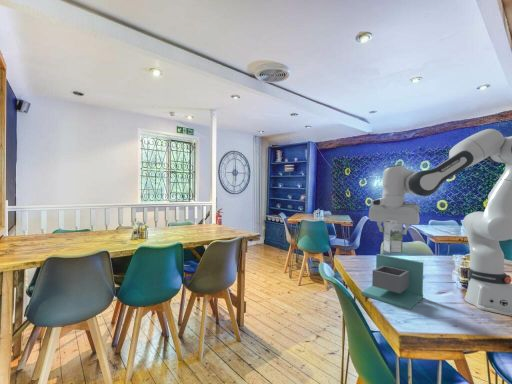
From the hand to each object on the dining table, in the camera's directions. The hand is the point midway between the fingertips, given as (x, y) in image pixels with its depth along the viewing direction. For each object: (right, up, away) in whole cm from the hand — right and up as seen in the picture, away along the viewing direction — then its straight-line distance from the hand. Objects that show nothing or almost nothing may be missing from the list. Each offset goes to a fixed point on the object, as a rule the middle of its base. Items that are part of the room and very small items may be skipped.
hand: (392, 232), depth 118 cm
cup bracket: (+1, -29, +2) cm, 29 cm away
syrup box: (0, -8, 0) cm, 8 cm away
